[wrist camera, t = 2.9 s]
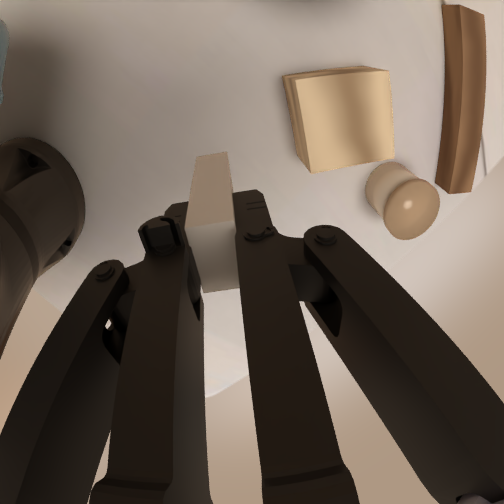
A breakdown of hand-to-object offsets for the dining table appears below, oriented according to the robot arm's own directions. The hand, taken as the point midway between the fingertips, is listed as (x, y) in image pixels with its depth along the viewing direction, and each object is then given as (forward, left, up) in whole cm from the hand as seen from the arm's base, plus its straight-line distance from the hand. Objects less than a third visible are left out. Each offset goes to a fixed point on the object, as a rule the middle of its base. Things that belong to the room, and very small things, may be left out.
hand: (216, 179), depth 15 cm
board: (+27, +2, -13) cm, 30 cm away
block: (+11, 0, -13) cm, 17 cm away
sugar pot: (+18, -9, -13) cm, 24 cm away
